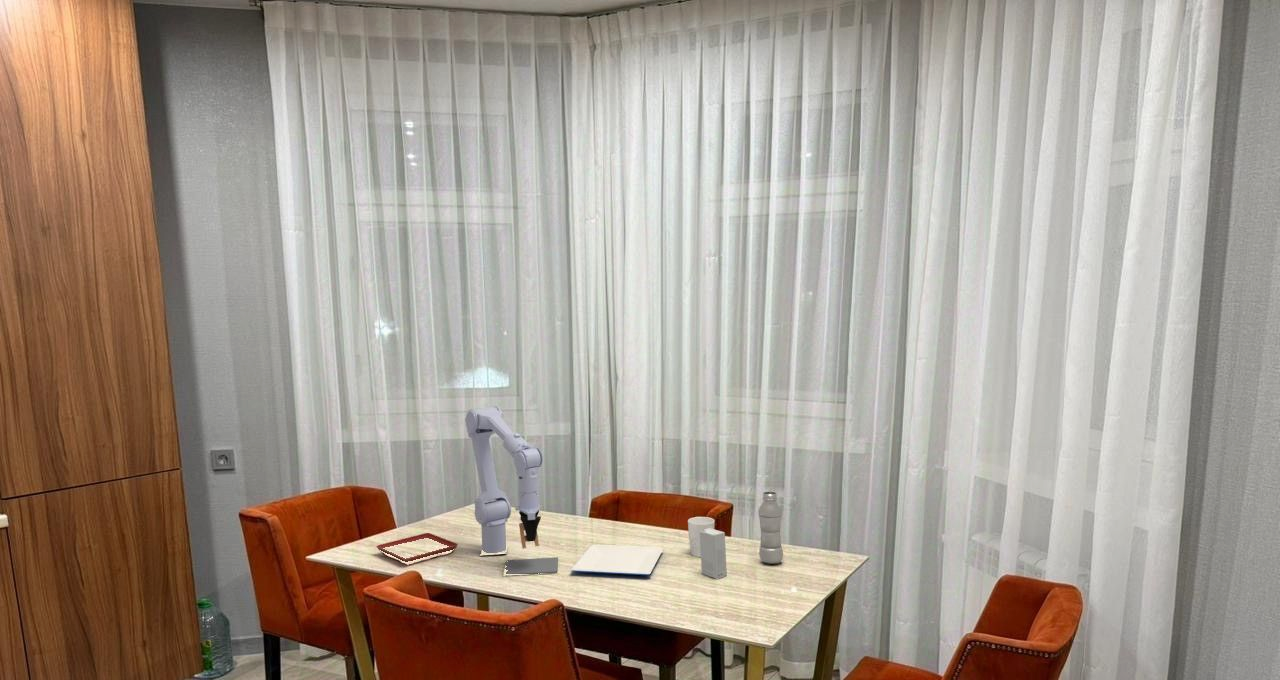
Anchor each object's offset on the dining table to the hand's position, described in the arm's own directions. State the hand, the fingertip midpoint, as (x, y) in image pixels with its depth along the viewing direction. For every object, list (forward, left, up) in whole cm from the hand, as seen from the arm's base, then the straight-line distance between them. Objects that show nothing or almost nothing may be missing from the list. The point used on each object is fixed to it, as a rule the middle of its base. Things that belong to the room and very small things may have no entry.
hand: (530, 538), depth 213 cm
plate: (+1, +25, -9) cm, 27 cm away
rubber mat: (0, 0, -8) cm, 8 cm away
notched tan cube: (0, 0, -2) cm, 2 cm away
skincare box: (+14, +50, -9) cm, 53 cm away
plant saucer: (-18, -35, -9) cm, 41 cm away
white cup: (-4, +50, -9) cm, 51 cm away
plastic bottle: (+7, +68, -9) cm, 69 cm away
